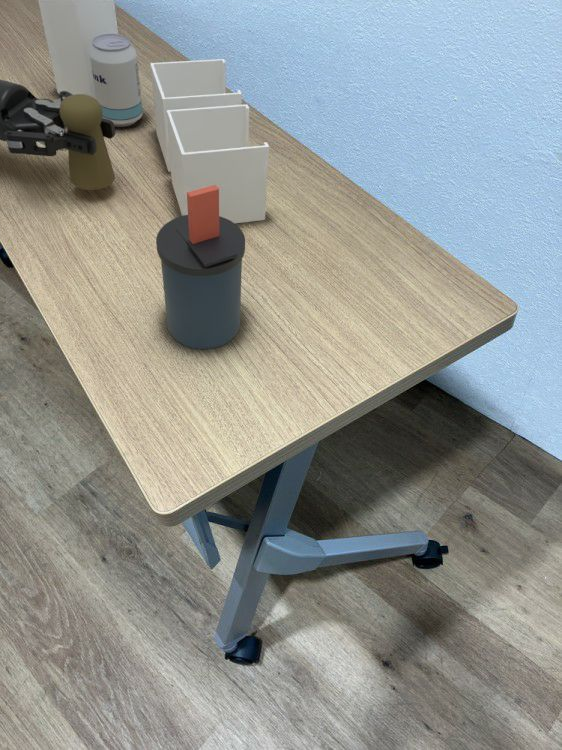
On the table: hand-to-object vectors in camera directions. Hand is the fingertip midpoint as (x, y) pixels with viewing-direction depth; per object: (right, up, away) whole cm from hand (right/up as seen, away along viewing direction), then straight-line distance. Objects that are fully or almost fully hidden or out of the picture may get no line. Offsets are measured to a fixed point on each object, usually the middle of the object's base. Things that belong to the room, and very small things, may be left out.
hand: (103, 138), depth 80 cm
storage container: (+12, -1, +12) cm, 17 cm away
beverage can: (-3, +11, +20) cm, 23 cm away
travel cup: (+14, -25, -8) cm, 30 cm away
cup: (-9, +17, +25) cm, 32 cm away
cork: (-3, -4, +6) cm, 7 cm away
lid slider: (+16, -18, -19) cm, 31 cm away
